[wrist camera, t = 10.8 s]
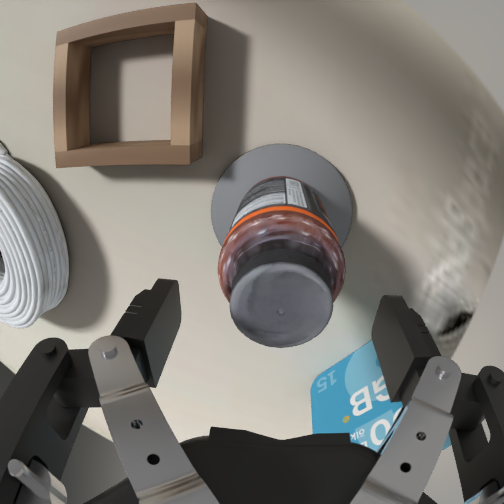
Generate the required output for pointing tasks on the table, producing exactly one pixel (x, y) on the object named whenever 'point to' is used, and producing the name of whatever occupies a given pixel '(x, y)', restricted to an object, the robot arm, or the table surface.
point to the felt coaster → (281, 164)
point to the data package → (355, 400)
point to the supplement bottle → (281, 264)
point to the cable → (28, 247)
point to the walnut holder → (182, 95)
